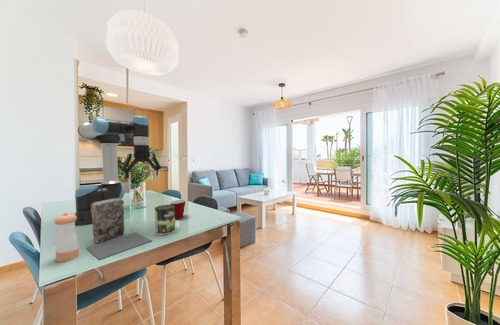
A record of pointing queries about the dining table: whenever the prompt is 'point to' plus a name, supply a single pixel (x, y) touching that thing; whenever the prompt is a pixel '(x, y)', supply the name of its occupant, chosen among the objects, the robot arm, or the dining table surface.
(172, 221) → the coffee can
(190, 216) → the dining table surface
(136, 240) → the mat
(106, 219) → the stone block
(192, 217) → the dining table surface
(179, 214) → the plastic cup
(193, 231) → the dining table surface
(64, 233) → the salt shaker
